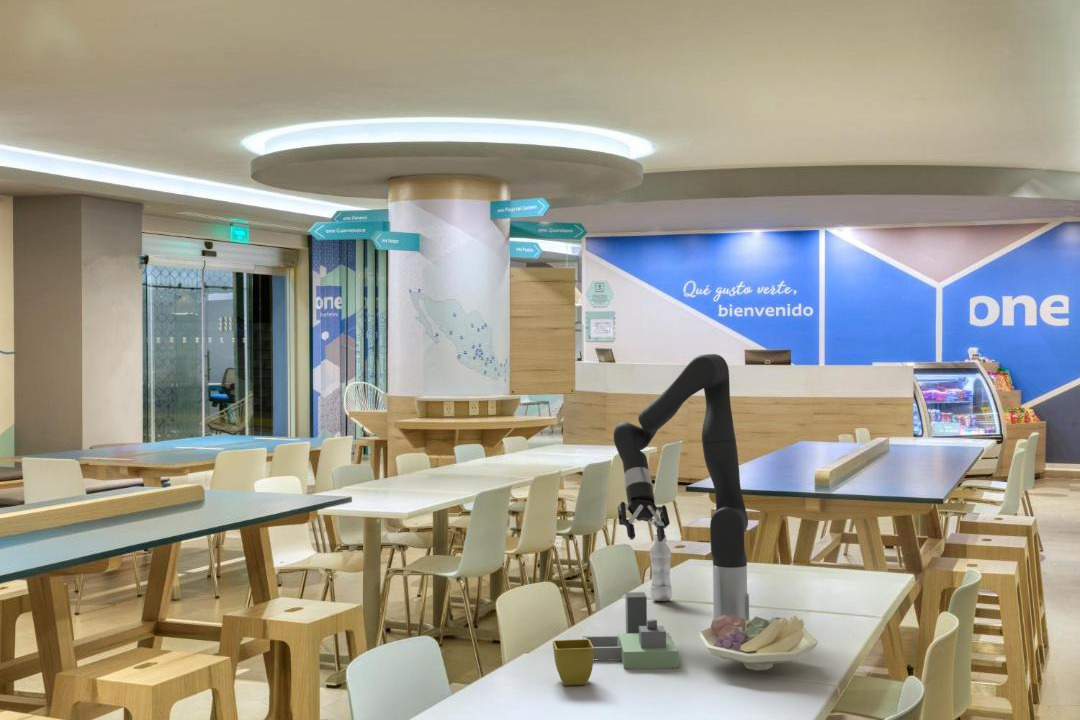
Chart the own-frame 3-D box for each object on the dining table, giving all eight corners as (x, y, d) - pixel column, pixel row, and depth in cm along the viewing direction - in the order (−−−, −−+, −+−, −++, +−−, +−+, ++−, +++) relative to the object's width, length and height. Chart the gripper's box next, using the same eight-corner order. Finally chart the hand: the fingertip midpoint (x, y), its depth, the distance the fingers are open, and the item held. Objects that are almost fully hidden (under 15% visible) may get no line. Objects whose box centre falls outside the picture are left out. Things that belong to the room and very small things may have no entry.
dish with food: (794, 690, 251) (793, 626, 251) (679, 673, 266) (678, 612, 266) (833, 660, 275) (832, 602, 275) (726, 646, 290) (725, 591, 290)
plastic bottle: (671, 603, 341) (670, 537, 341) (649, 603, 342) (648, 537, 342) (673, 599, 347) (672, 534, 347) (651, 598, 348) (650, 533, 348)
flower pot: (552, 678, 263) (552, 639, 263) (590, 676, 264) (589, 638, 264) (556, 689, 254) (556, 649, 254) (595, 687, 255) (594, 647, 255)
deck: (668, 646, 290) (667, 607, 290) (678, 667, 270) (677, 626, 270) (582, 647, 290) (582, 609, 290) (586, 669, 270) (585, 627, 270)
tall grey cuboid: (644, 637, 300) (644, 592, 300) (647, 642, 294) (646, 597, 294) (626, 637, 300) (625, 592, 300) (627, 643, 294) (627, 597, 294)
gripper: (620, 478, 312) (628, 531, 303) (667, 482, 317) (676, 535, 308) (610, 491, 318) (617, 543, 309) (656, 495, 322) (665, 547, 313)
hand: (647, 539), depth 308 cm, fingers open, 8 cm apart
